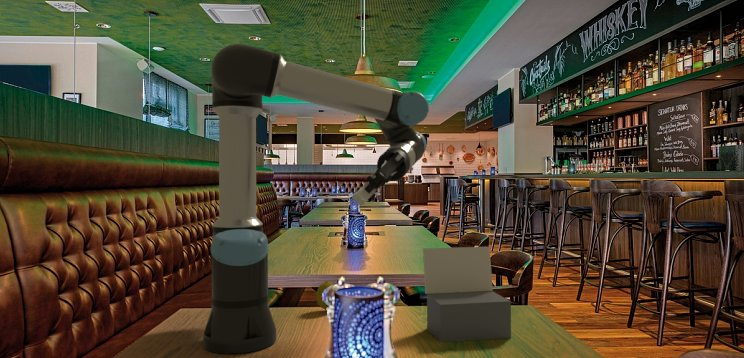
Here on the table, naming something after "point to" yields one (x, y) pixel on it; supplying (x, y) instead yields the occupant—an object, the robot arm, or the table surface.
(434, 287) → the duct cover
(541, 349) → the table surface
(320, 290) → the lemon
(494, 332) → the box
